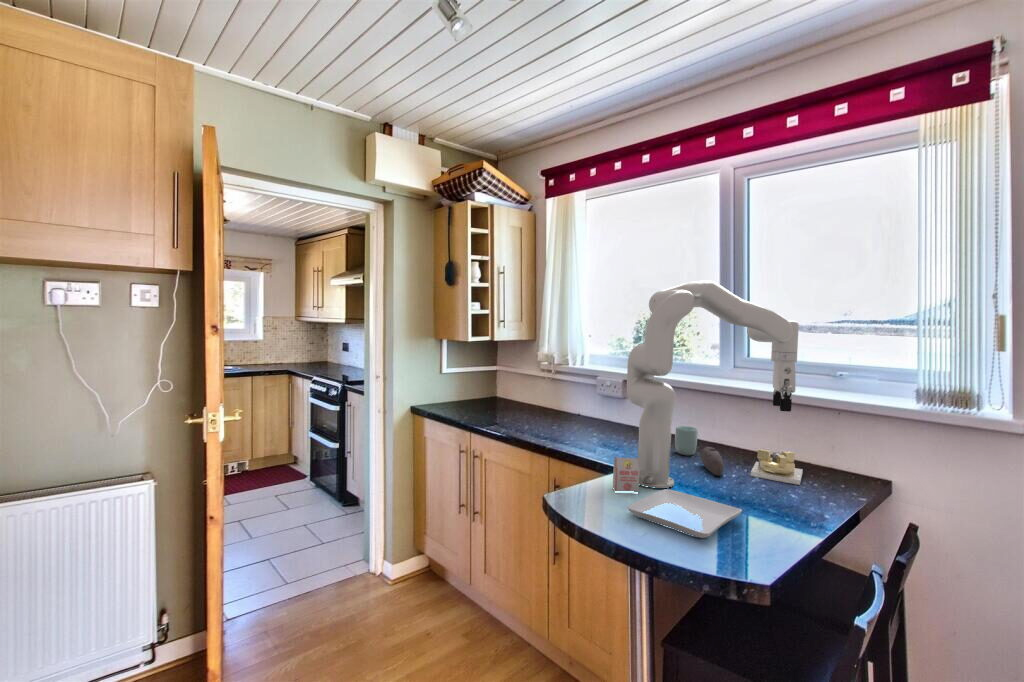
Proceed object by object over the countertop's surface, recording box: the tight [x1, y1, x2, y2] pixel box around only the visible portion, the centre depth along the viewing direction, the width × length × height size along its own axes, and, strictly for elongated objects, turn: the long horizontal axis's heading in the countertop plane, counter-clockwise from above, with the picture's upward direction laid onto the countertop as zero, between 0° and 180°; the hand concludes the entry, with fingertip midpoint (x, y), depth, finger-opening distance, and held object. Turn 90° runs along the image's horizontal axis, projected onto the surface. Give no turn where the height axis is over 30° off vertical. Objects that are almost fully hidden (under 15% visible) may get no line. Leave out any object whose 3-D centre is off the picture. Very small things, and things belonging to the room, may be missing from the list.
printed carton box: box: [612, 457, 640, 492], centre depth 141 cm, size 4×7×10 cm, turn 88°
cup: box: [674, 425, 699, 457], centre depth 183 cm, size 8×8×10 cm
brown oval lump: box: [700, 446, 725, 477], centre depth 163 cm, size 15×5×7 cm, turn 171°
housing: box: [750, 448, 803, 486], centre depth 161 cm, size 14×14×7 cm
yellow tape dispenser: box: [756, 448, 796, 474], centre depth 161 cm, size 11×11×6 cm
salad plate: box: [626, 488, 743, 539], centre depth 123 cm, size 21×21×3 cm
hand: (781, 408), depth 162 cm, fingers open, 9 cm apart
